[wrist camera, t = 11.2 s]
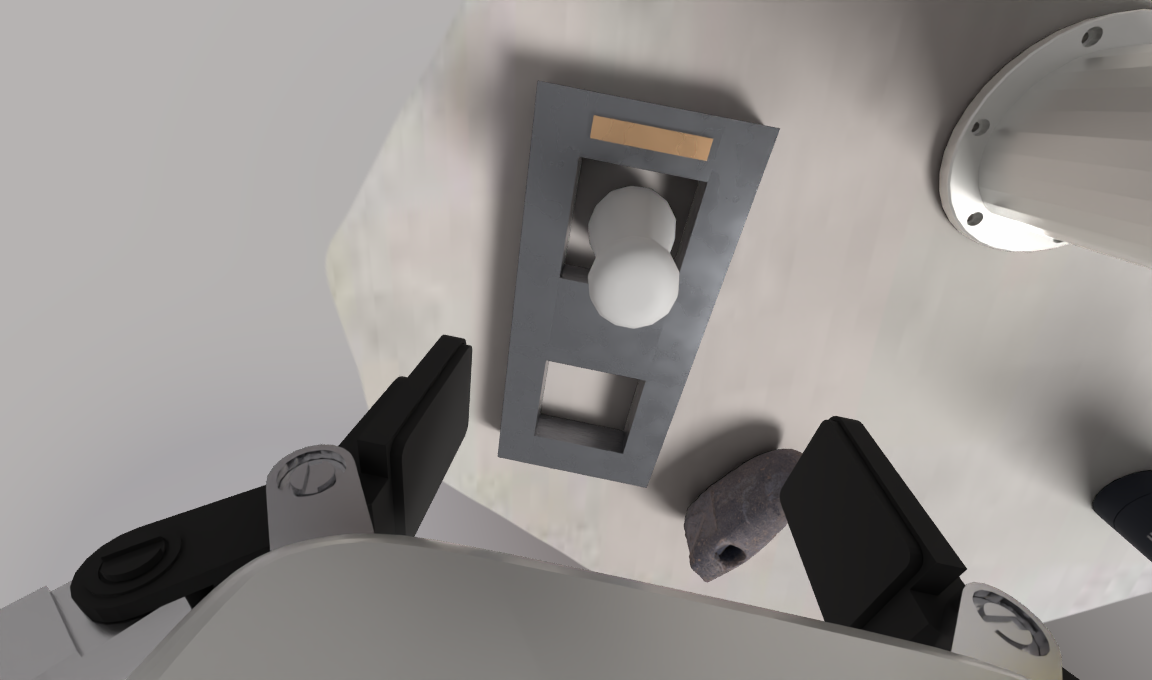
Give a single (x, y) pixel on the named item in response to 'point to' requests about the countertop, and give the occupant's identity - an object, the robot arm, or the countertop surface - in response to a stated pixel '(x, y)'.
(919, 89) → the countertop surface
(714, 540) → the perforated stone tool
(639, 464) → the socket panel
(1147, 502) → the wine bottle
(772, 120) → the countertop surface
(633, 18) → the countertop surface
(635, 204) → the salt shaker
